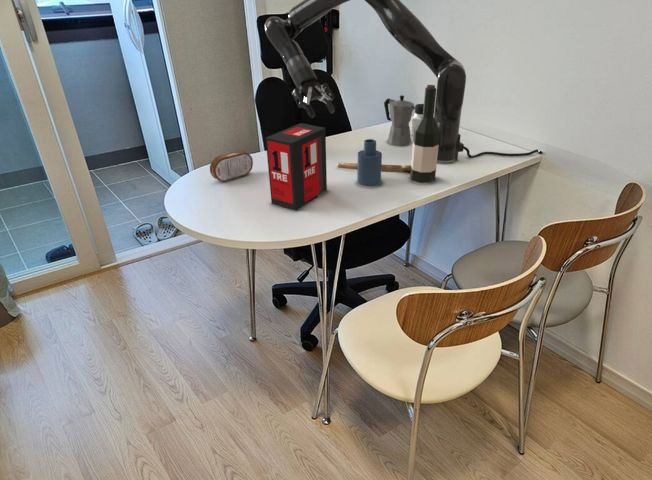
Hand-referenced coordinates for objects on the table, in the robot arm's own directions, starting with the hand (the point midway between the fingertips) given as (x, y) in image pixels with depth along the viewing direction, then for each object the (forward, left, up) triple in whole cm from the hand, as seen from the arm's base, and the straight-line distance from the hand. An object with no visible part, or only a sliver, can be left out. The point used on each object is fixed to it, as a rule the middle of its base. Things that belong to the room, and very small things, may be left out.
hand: (323, 114), depth 167 cm
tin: (+32, +5, -17) cm, 37 cm away
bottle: (-10, +21, -17) cm, 29 cm away
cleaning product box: (+14, +26, -17) cm, 35 cm away
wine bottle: (-28, +23, -17) cm, 40 cm away
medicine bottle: (-47, -23, -17) cm, 55 cm away
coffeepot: (-34, -16, -17) cm, 41 cm away
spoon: (-3, +6, -16) cm, 17 cm away
